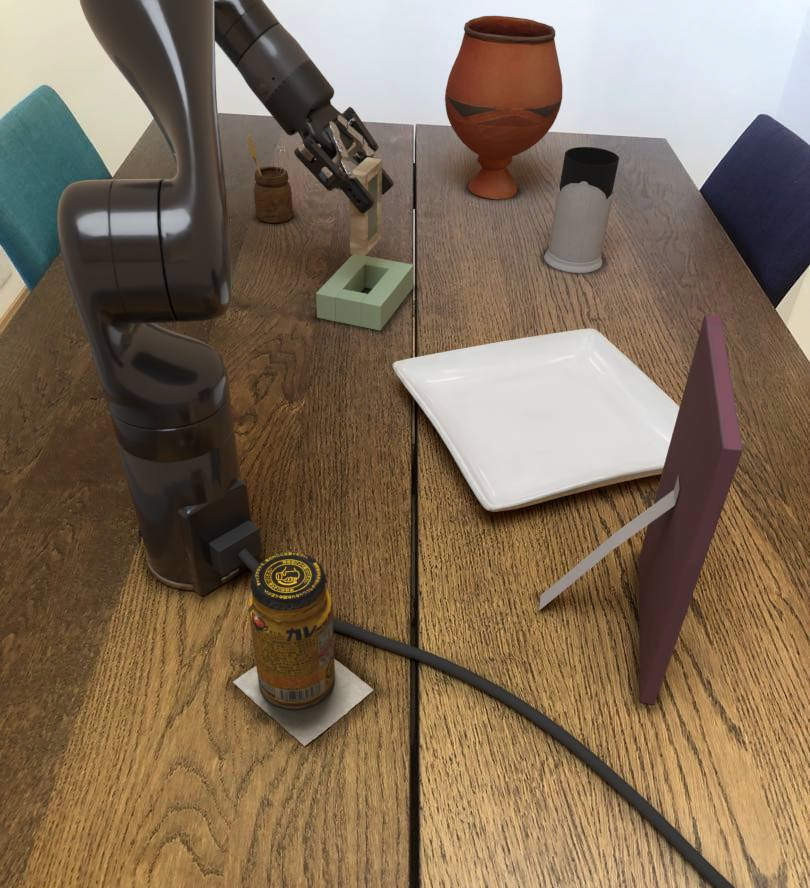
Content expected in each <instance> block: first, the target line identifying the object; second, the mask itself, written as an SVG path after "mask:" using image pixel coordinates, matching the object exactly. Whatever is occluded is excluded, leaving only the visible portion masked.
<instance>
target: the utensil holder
mask: <svg viewBox="0 0 810 888" xmlns="http://www.w3.org/2000/svg"><path fill="white" fill-rule="evenodd" d="M245 139H246V143H247V145H248V149H249V152H250V156H251V159H253V160H254V163H255V167H256V170H255V172H254V181H255V183H254V186H253V199H254V210H255V215H256V218H257V219H258V220H259V221H261V222H264V223H268V224H280V223H285V222H288V221H289V220H291V219H292V217H293V212H294V211H293V210H294V208H293V192H292V187H291V184H290V183H289V178H290V177H289V173H288V171H287V169H288V166H289V163H288V162H286V160H284V161H283V159H284V157H281V161H283V164H284V165H286V167H283V166H282V165H283V164H281V165H280V166H279V164H280V162H278V160H276V163H272V166H271V165H270V166H263V167H260V166H259V161H258V159H257V157H258V156H257V151H256V148H255V146H254V142H253V140H252V137H251V134H248V135H247V136H246V137H245ZM279 148H280V150H279ZM282 150H283V151H282ZM281 151H282V152H287V155H286V159H290V158H289V151H288V149H287V147H286V146H284V145H280V146H276V147H275V148H274V150H273V152H276V154H278V152H281ZM280 155H281V153H279V156H278V158H280ZM272 157H273V158H272V159H275V157H276V155H272ZM285 163H286V164H285ZM275 164H276V165H277V166H275Z"/></svg>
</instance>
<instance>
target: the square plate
mask: <svg viewBox="0 0 810 888" xmlns="http://www.w3.org/2000/svg"><path fill="white" fill-rule="evenodd" d="M391 367H392V369H393V371H394V373H395V375H396V376H397V378H398V379H399V380H400V382H401V383H402V385H403V386H404V388H405V389H406V390H407V391H408V393H409V394H410V395H411V397H412V398H413V399H414V400H415V402H416V403H417V405H418V406H419V408H420V409H421V410H422V411H423V413H424V415H426V417H427V418H428V420H429V421H430V423H431V424H432V426H433V428H434V429H435V430H436V433H438V435H439V437H440V438H441V440H442V441H443V443H444V445H445V446H446V448H447V449H448V451H449V453H450V454H451V457H452V458H453V460H454V462H455V463H456V465H457V467H458V469H459V471H460V472H461V475H462V476H463V478H464V479H465V480H466V483H467V484H468V486H469V488H470V490H472V492H473V494H474V495H475V497H476V499H477V500H478V502H479V503H480V505H481V506H482V508H484V509H485V510H486V511H489V512H492V513H493V512H494V513H496V512H497V513H498V512H503V511H504V512H505V511H510V510H517V509H521V508H525V507H529V506H534V505H538V504H541V503H544V502H548V501H552V500H556V499H558V498H562V497H566V496H570V495H574V494H579V493H583V492H585V491H590V490H594V489H598V488H601V487H605V486H610V485H614V484H619V483H623V482H629V481H632V480H638V479H641V478H647V477H653V476H657V475H662V471H663V467H664V463H665V460H666V456H667V452H668V449H669V445H670V441H671V438H672V434H673V430H674V426H675V423H676V419H677V415H678V412H679V408H680V405H679V404H677V403H676V402H675V401H674V400H673V399H672V398H671V397H670V396H669V395H668V394H667V393H666V392H664V391H663V389H661V387H659V386H658V384H656V383H655V382H654V381H653V379H651V378H650V377H649V376H648V375H647V374H645V372H644V371H642V369H641V368H639V366H637V365H636V364H635V363H634V362H633V361H632V360H631V359H630V358H628V357H627V356H626V355H625V354H624V353H623V352H622V351H621V350H619V348H618V347H616V346H615V345H614V344H613V343H612V342H611V341H610V340H609V339H608V338H607V337H605V336H604V335H603V334H602V333H601V332H600V331H599V330H597V329H595V328H590V327H589V328H581V329H575V330H573V329H572V330H567V331H566V330H565V331H561V332H559V331H558V332H553V333H547V334H540V335H532V336H526V337H521V338H516V339H515V338H514V339H508V340H503V341H502V340H501V341H497V342H490V343H485V344H480V345H474V346H468V347H462V348H458V349H451V350H447V351H441V352H436V353H431V354H425V355H420V356H415V357H410V358H405V359H401V360H397V361H394V362H393V363H392V365H391Z"/></svg>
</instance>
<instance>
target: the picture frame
mask: <svg viewBox="0 0 810 888" xmlns="http://www.w3.org/2000/svg"><path fill="white" fill-rule="evenodd" d="M724 333H725V332H724V328H723V322H722V316H721V315H717V314H716V315H715V314H704V316H703V319H702V324H701V327H700V331H699V334H698V338H697V341H696V345H695V348H694V353H693V355H692V360H691V364H690V367H689V371H688V375H687V377H686V383H685V386H684V390H683V393H682V398H681V401H680V405H679V407H680V408H679V412H678V415H677V419H676V423H675V426H674V430H673V434H672V438H671V441H670V445H669V449H668V452H667V456H666V460H665V463H664V467H663V471H662V474H660V478H659V483H658V485H657V489H656V494H655V497H654V501H653V504H652V505H651V506H650V507H647V509H646V510H644V511H643V512H641V513H640V514H639V515H638V516H636V517H635V518H633V519H632V520H631V521H629V522H628V523H626V524H625V525H624V526H622V527H621V528H620V529H619V530H617V531H616V532H615V533H614V534H612V535H610V536H609V537H608V538H607V539H606V540H605V541H604V542H602V543H601V544H600V545H599V546H597V547H596V548H595V549H594V550H593V551H592V552H591V553H589V554H588V555H587V556H585V558H584V559H582V560H581V561H580V562H579V563H578V564H576V565H575V566H574V567H573V568H571V569H570V570H569V571H568V572H567V573H565V574H564V575H563V576H562V577H560V578H559V580H557V581H556V582H555V583H554V584H552V585H551V586H550V587H549V588H548V589H547V590H545V591H544V592H542V594H540V600H539V607H538V610H539V611H541V610H542V609H543V608H544V607H546V606H547V605H548V604H549V603H550V602H551V601H553V600H554V599H555V598H556V597H557V596H559V595H560V594H561V593H563V592H564V591H565V590H566V589H568V588H569V587H570V586H571V585H572V584H573V583H575V582H576V581H577V580H579V579H580V578H581V577H582V576H583V575H584V574H586V573H587V572H588V571H590V570H591V569H592V568H593V567H594V566H595V565H596V564H598V563H599V562H600V561H602V560H603V559H604V558H605V557H606V556H608V555H609V554H610V553H612V552H613V550H615V549H616V548H617V547H619V546H621V545H622V544H623V543H625V542H626V541H627V540H629V539H630V538H631V537H633V536H635V535H636V534H637V533H639V532H640V531H641V530H642V529H644V528H646V531H645V533H644V538H643V541H642V546H641V548H640V552H639V557H638V635H639V637H638V639H639V641H638V642H639V645H638V647H639V650H638V651H639V653H638V654H639V703H641V704H647V705H653V706H654V705H655V704H656V703H657V699H658V696H659V693H660V690H661V687H662V685H663V682H664V679H665V677H666V673H667V670H668V667H669V665H670V661H671V658H672V656H673V653H674V650H675V647H676V644H677V641H678V639H679V636H680V632H681V630H682V628H683V624H684V621H685V618H686V616H687V612H688V610H689V607H690V604H691V601H692V599H693V595H694V592H695V590H696V587H697V584H698V581H699V578H700V575H701V572H702V569H703V567H704V564H705V560H706V558H707V555H708V552H709V549H710V547H711V544H712V541H713V538H714V535H715V532H716V529H717V526H718V523H719V522H720V521H719V520H720V517H721V514H722V512H723V510H724V506H725V504H726V500H727V497H728V495H729V491H730V489H731V486H732V483H733V480H734V477H735V474H736V471H737V468H738V466H739V464H740V460H741V457H742V454H743V450H744V449H743V443H742V437H741V430H740V425H739V419H738V413H737V407H736V401H735V400H736V399H735V394H734V389H733V382H732V377H731V376H732V375H731V371H730V370H731V369H730V364H729V357H728V353H727V346H726V340H725V334H724Z"/></svg>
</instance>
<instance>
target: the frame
mask: <svg viewBox="0 0 810 888" xmlns="http://www.w3.org/2000/svg"><path fill="white" fill-rule="evenodd" d="M382 168H383V158H377V157H376V158H370V157H367V158H366V159H365V160H364V161H363V162H361V163H360V164H359V165H358V166H356V167H355V168H353V169H351V170H352V172H353V174H354V178H355V177H356V178H357V179H358V180H359V181H360V183H361V184H362V185H363V186H364V188H365V189H366V190H367V191H368V192H369V194H370V195H371V196H372V197H373V199H374V200H375V204H374V205H373V206H372V207H371V208H370V209H369V210H368V211H367V212H365V213H364V214H362V213H360V212H359V210H358V209H357V208H356V207H355V206H354V204H353V203H352V202H351V201H350V200H349V253H350V254H351V255H353V254H355V255H361V256H367V254H368V253H369V252H370V251H371V250H372V249H373V248H374V247H375V245H377V244H378V242H379V241H380V240H381V239H382V205H383V204H382V203H383V201H382V200H383V199H382V198H383V195H382ZM354 178H353V179H354Z"/></svg>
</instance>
